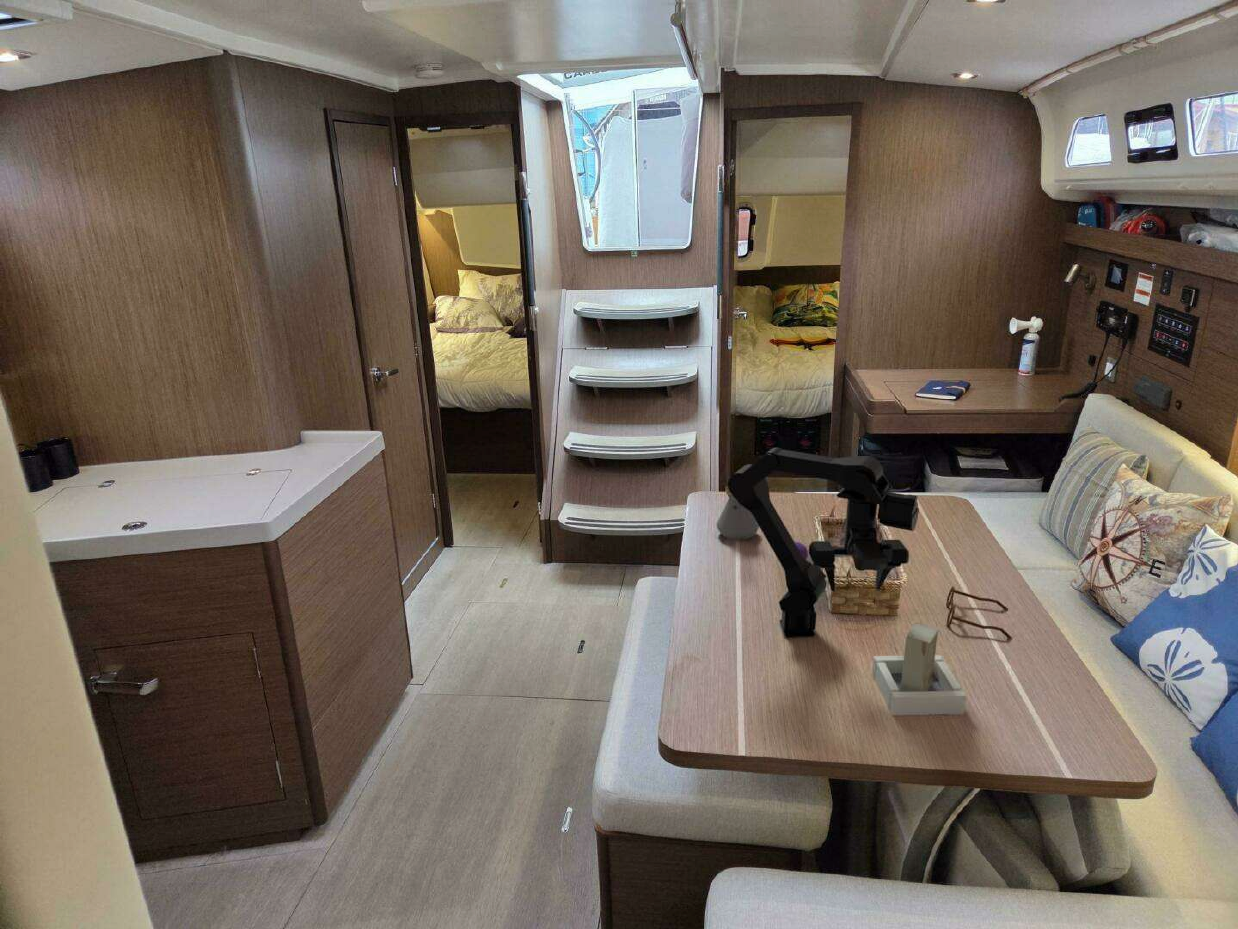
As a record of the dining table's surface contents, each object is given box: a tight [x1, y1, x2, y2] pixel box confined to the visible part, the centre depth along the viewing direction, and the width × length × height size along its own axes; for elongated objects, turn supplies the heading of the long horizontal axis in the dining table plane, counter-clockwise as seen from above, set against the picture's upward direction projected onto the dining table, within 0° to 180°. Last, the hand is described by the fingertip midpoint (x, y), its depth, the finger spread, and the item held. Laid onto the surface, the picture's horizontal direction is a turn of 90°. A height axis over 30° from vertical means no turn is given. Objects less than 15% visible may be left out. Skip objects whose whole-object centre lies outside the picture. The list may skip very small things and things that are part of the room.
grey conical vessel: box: [716, 489, 760, 542], centre depth 213 cm, size 21×12×15 cm, turn 168°
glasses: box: [945, 586, 1013, 640], centre depth 176 cm, size 13×13×5 cm
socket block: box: [871, 654, 967, 716], centre depth 152 cm, size 13×13×4 cm
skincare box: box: [900, 622, 939, 692], centre depth 150 cm, size 6×4×12 cm
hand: (854, 589), depth 164 cm, fingers open, 9 cm apart
